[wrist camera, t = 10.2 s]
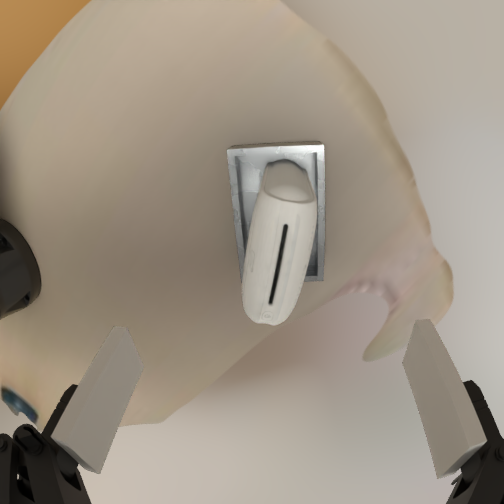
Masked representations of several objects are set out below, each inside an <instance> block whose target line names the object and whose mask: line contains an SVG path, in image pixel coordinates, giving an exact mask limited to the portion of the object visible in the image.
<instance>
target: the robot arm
mask: <svg viewBox="0 0 504 504" xmlns="http://www.w3.org/2000/svg"><path fill="white" fill-rule="evenodd" d="M39 292H40V274H39V270H38V266H37V263H36V261H35V258H34V256H33V254H32V252H31V250H30V248H29V246H28V244H27V243H26V241H25V240H24V238H23V237H22V236H21V234H20V233H19V232H18V231H17V230H16V229H15V228H14V227H13V226H12V225H10V224H9V223H8V222H6V221H4V220H0V320H1V319H2V318H3V317H6V316H8V315H10V314H13V313H15V312H17V311H19V310H22V309H24V308H26V307H28V306H29V305H30V304H31V303H32V302H33V301H34V300H35V299H36V298H37V297H38V295H39ZM402 364H403V366H404V369H405V372H406V375H407V377H408V380H409V383H410V386H411V389H412V392H413V395H414V398H415V401H416V404H417V407H418V411H419V414H420V417H421V420H422V423H423V427H424V430H425V434H426V437H427V441H428V444H429V448H430V452H431V455H432V459H433V463H434V467H435V471H436V475H437V479H439V478H443V477H446V476H449V475H452V474H454V473H455V472H456V471H457V470H459V468H461V472H462V474H460V475H459V476H458V477H457V478H456V479H455V480H454V481H453V482H452V483H451V484H452V485H454V484H455V483H456V482H457V483H456V485H455V487H454V489H453V491H452V493H451V495H450V497H449V499H448V501H447V503H446V504H504V439H503V438H502V437H501V435H500V433H499V430H498V428H497V425H496V423H495V421H494V418H493V416H492V414H491V411H490V409H489V408H488V405H487V403H486V400H484V396H483V394H482V392H481V390H480V388H479V387H478V386H477V385H476V384H475V383H474V382H473V381H472V380H470V381H466V382H462V380H461V378H460V376H459V374H458V371H457V369H456V367H455V366H454V363H453V361H452V359H451V357H450V355H449V354H448V351H447V349H446V348H445V346H444V344H443V342H442V340H441V338H440V336H439V334H438V333H437V331H436V329H435V327H434V325H433V323H432V322H431V320H430V319H424V320H416V321H415V324H414V328H413V331H412V334H411V338H410V341H409V344H408V347H407V350H406V353H405V356H404V359H403V362H402ZM143 368H144V365H143V363H142V361H141V359H140V356H139V354H138V352H137V349H136V347H135V345H134V342H133V340H132V338H131V335H130V333H129V330H128V328H127V327H119V326H114V327H113V329H112V330H111V332H110V333H109V335H108V337H107V338H106V340H105V341H104V343H103V345H102V346H101V348H100V350H99V351H98V353H97V355H96V356H95V358H94V360H93V361H92V363H91V365H90V366H89V368H88V370H87V371H86V373H85V375H84V377H83V378H82V380H81V382H80V383H79V385H75V384H73V385H71V386H70V387H69V388H68V389H67V390H66V391H65V392H64V394H63V396H62V397H61V399H60V402H59V403H58V404H57V406H56V409H55V410H54V412H53V413H52V415H51V417H50V419H49V421H48V423H47V424H46V426H45V428H44V430H43V432H42V433H41V434H40V433H39V432H38V431H37V430H36V429H35V428H34V427H33V426H32V425H30V424H23V425H21V426H19V427H18V428H17V429H16V430H15V432H14V434H13V439H12V438H11V437H10V436H9V435H7V434H4V433H3V434H0V504H91V502H90V499H89V496H88V494H87V491H86V489H85V486H84V483H83V480H82V478H81V475H80V472H79V470H78V469H77V466H78V464H80V465H81V466H82V467H83V468H85V469H86V470H88V471H91V472H94V473H97V474H100V473H101V470H102V467H103V465H104V462H105V460H106V457H107V454H108V452H109V449H110V447H111V444H112V442H113V439H114V437H115V434H116V432H117V429H118V427H119V424H120V422H121V420H122V417H123V415H124V412H125V410H126V408H127V405H128V403H129V400H130V398H131V396H132V393H133V391H134V389H135V386H136V384H137V382H138V380H139V377H140V375H141V373H142V370H143ZM17 474H19V479H17Z"/></svg>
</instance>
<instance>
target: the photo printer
mask: <svg viewBox="0 0 504 504" xmlns="http://www.w3.org/2000/svg"><path fill="white" fill-rule="evenodd" d="M316 222H317V198H316V195H315V192H314V189H313V187H312V184H311V181H310V178H309V176H308V173H307V171H306V169H303V168H301V167H300V166H299V165H298V164H297V163H295V162H293V161H291V160H286V159H281V160H277V161H274V162H273V163H267V165H266V167H265V170H264V173H263V176H262V180H261V184H260V189H259V193H258V196H257V200H256V203H255V207H254V211H253V213H252V221H251V225H250V231H249V237H248V243H247V249H246V256H245V263H244V271H243V279H242V302H243V307H244V311H245V313H246V314H247V316H248V317H249V318H250V319H251V320H253V321H254V322H256V323H267V324H270V325H277V324H280V323H282V322H283V321H285V320H286V319H287V318H288V316H289V315H290V314H291V312H292V311H293V309H294V307H295V305H296V302H297V300H298V297H299V294H300V291H301V289H302V285H303V282H304V279H305V275H306V271H307V267H308V263H309V259H310V255H311V250H312V246H313V240H314V235H315V229H316Z"/></svg>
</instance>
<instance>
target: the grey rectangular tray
mask: <svg viewBox="0 0 504 504" xmlns="http://www.w3.org/2000/svg"><path fill="white" fill-rule="evenodd" d="M227 157H228V167H229V176H230V186H231V195H232V204H233V213H234V223H235V232H236V240H237V249H238V258H239V267H240V275H241V283H242V279H243V271H244V263H245V256H246V249H247V243H248V237H249V231H250V225H251V221H252V213H253V211H254V207H255V203H256V200H257V196H258V193H259V189H260V184H261V180H262V176H263V173H264V170H265V167H266V165H267V163H273V162H274V161H277V160H281V159H286V160H291V161H293V162H295V163H297V164H298V165H299V166H300V167H301V168H303V169H306V171H307V173H308V176H309V178H310V181H311V184H312V187H313V189H314V192H315V195H316V198H317V222H316V229H315V235H314V240H313V246H312V250H311V255H310V259H309V263H308V267H307V271H306V275H305V279H304V282H308V281H323V277H324V245H325V166H324V145H323V144H322V143H321V142H320V141H316V142H282V143H263V144H248V145H235V146H231V147H230V148H229V149H227Z"/></svg>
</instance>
